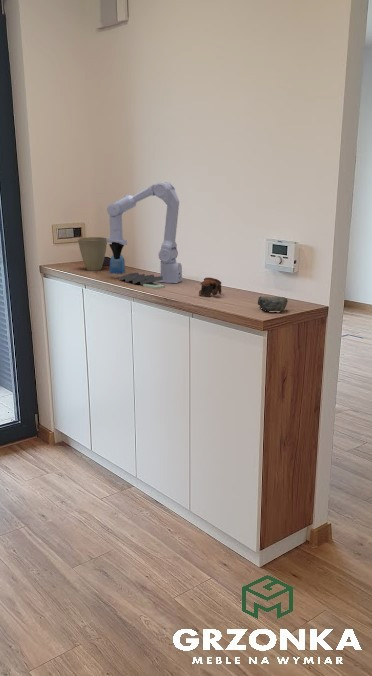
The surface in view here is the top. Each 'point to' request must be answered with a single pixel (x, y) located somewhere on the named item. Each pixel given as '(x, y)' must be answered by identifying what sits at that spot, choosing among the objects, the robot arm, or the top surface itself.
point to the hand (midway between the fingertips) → (117, 259)
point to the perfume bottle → (117, 265)
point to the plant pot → (93, 251)
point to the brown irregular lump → (210, 287)
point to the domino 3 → (142, 278)
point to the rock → (272, 303)
